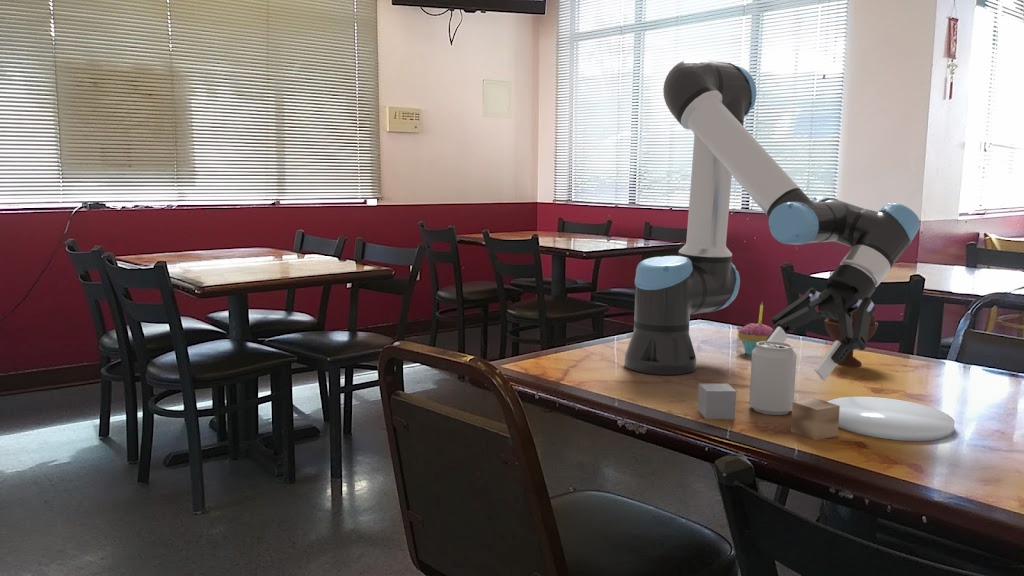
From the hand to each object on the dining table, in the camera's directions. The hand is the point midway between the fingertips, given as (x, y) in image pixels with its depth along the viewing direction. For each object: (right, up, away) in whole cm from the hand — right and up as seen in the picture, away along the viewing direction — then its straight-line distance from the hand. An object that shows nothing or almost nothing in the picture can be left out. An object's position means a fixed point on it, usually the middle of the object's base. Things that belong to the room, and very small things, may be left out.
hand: (789, 366), depth 140 cm
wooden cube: (0, -10, -11) cm, 15 cm away
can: (-3, -8, +1) cm, 9 cm away
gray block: (-13, -8, -2) cm, 16 cm away
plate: (+15, -9, -5) cm, 18 cm away
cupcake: (+8, -2, +46) cm, 47 cm away
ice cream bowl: (+26, -3, +37) cm, 45 cm away
